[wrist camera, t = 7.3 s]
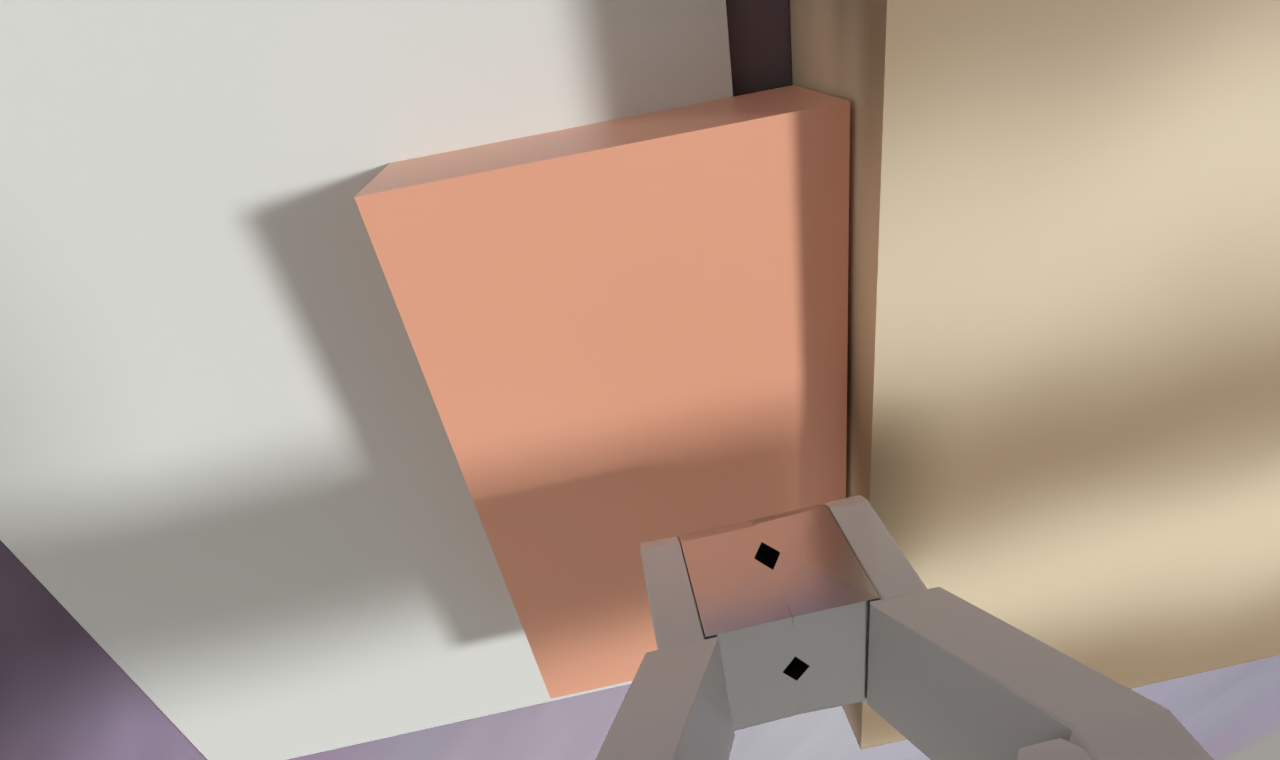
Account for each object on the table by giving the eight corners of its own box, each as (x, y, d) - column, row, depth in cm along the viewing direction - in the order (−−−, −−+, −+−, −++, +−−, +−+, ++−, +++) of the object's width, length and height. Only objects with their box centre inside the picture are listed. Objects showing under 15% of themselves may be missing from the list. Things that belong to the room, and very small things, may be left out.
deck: (783, -173, 8) (895, -262, 5) (1664, -334, 8) (2157, -486, 6) (810, 632, 16) (860, 749, 14) (1255, 534, 17) (1387, 630, 14)
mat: (-429, 46, 8) (-463, 48, 7) (707, -159, 8) (712, -166, 8) (226, 761, 16) (221, 774, 16) (772, 641, 16) (776, 651, 16)
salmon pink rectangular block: (390, 163, 9) (354, 197, 7) (794, 85, 9) (850, 101, 8) (549, 616, 14) (550, 698, 13) (809, 559, 14) (844, 633, 13)
